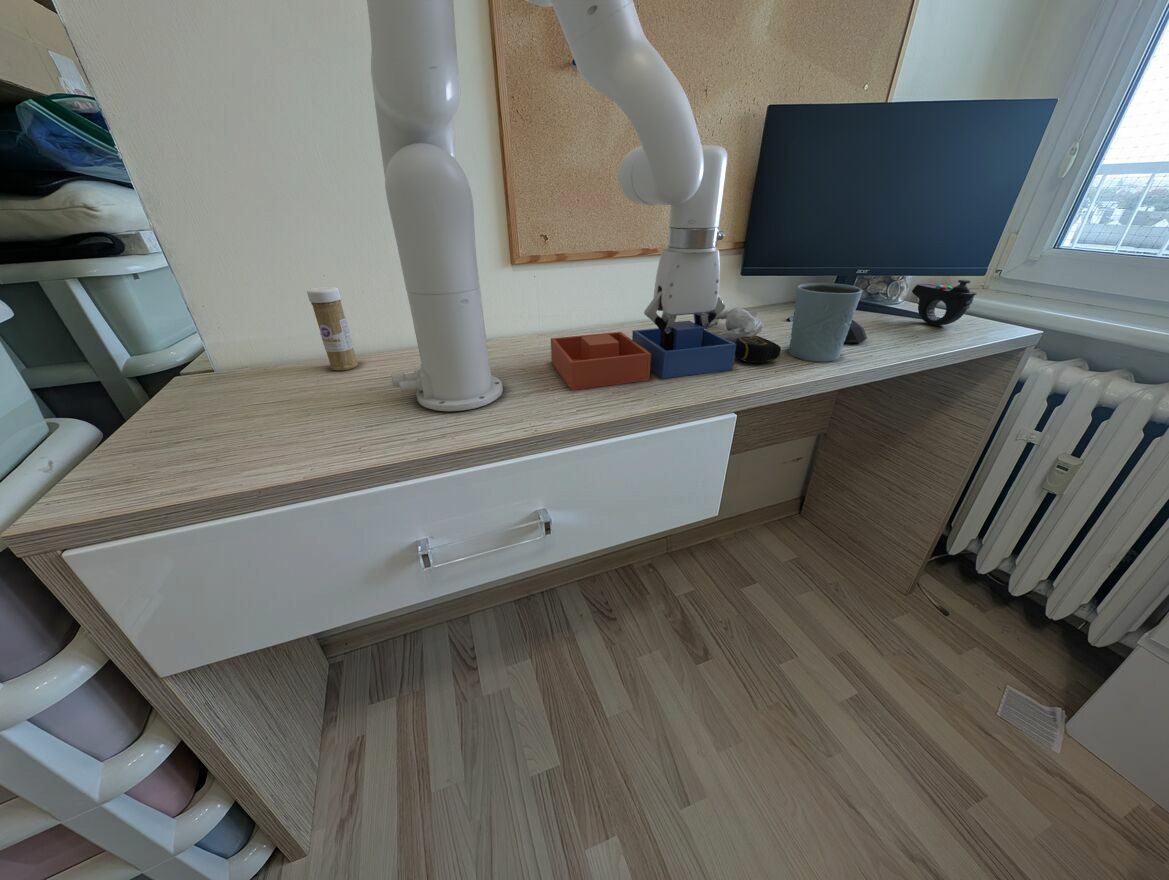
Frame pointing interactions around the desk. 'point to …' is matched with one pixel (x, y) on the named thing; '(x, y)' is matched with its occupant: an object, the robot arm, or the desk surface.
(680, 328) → the blue block
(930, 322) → the controller
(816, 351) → the grey-green cup
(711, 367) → the blue bin
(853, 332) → the gaming mouse
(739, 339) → the tape measure
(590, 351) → the terracotta block
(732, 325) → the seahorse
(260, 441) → the desk surface
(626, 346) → the terracotta bin
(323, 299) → the sprinkles bottle
